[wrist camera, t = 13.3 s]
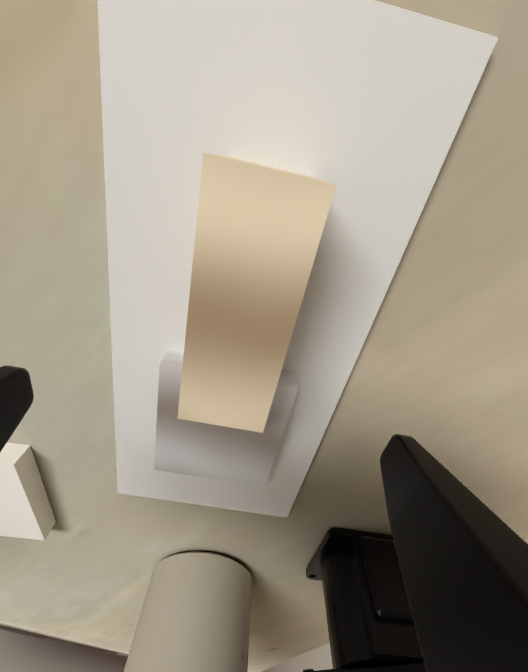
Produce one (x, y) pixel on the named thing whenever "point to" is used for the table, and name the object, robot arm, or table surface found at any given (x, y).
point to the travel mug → (194, 616)
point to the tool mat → (274, 151)
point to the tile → (23, 495)
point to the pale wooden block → (239, 321)
